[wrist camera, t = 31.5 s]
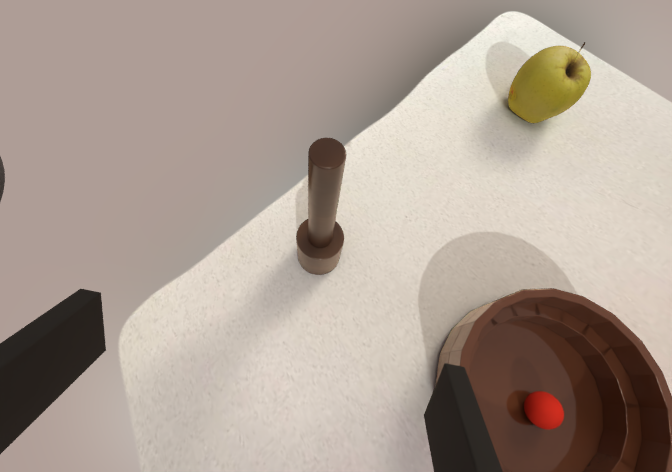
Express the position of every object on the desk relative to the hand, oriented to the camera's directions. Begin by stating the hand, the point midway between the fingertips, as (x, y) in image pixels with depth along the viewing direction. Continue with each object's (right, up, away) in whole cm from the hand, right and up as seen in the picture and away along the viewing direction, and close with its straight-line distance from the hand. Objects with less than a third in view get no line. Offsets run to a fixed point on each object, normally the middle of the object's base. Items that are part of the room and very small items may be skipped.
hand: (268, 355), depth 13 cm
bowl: (+20, -11, +20) cm, 30 cm away
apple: (+28, +21, +34) cm, 49 cm away
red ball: (+21, -11, +17) cm, 29 cm away
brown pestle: (+1, +3, +23) cm, 24 cm away
